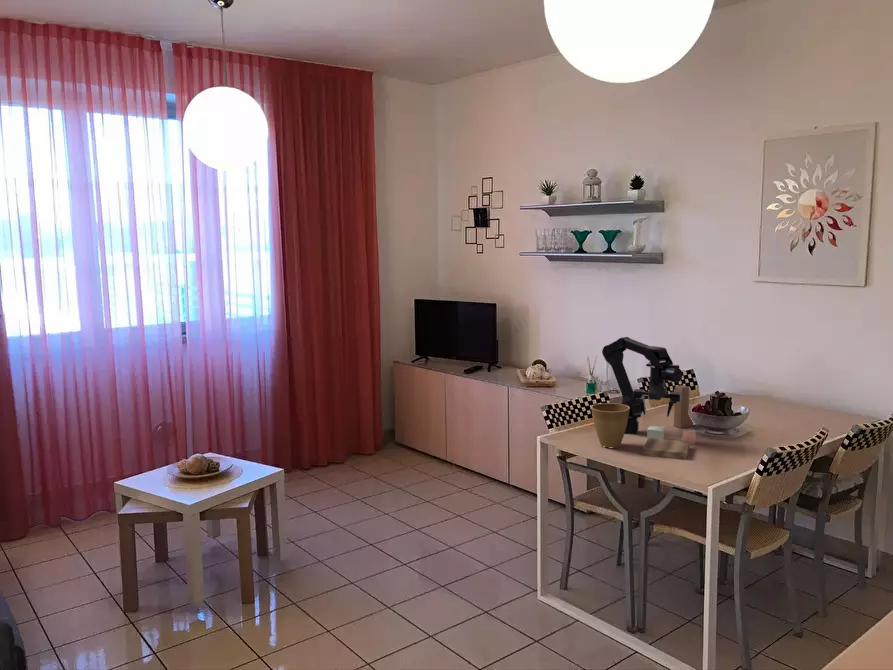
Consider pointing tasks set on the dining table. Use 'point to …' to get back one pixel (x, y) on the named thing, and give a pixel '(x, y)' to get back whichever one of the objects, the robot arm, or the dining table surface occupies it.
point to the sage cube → (655, 432)
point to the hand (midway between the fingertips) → (656, 415)
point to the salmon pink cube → (689, 436)
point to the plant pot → (610, 423)
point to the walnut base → (666, 448)
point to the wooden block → (682, 408)
